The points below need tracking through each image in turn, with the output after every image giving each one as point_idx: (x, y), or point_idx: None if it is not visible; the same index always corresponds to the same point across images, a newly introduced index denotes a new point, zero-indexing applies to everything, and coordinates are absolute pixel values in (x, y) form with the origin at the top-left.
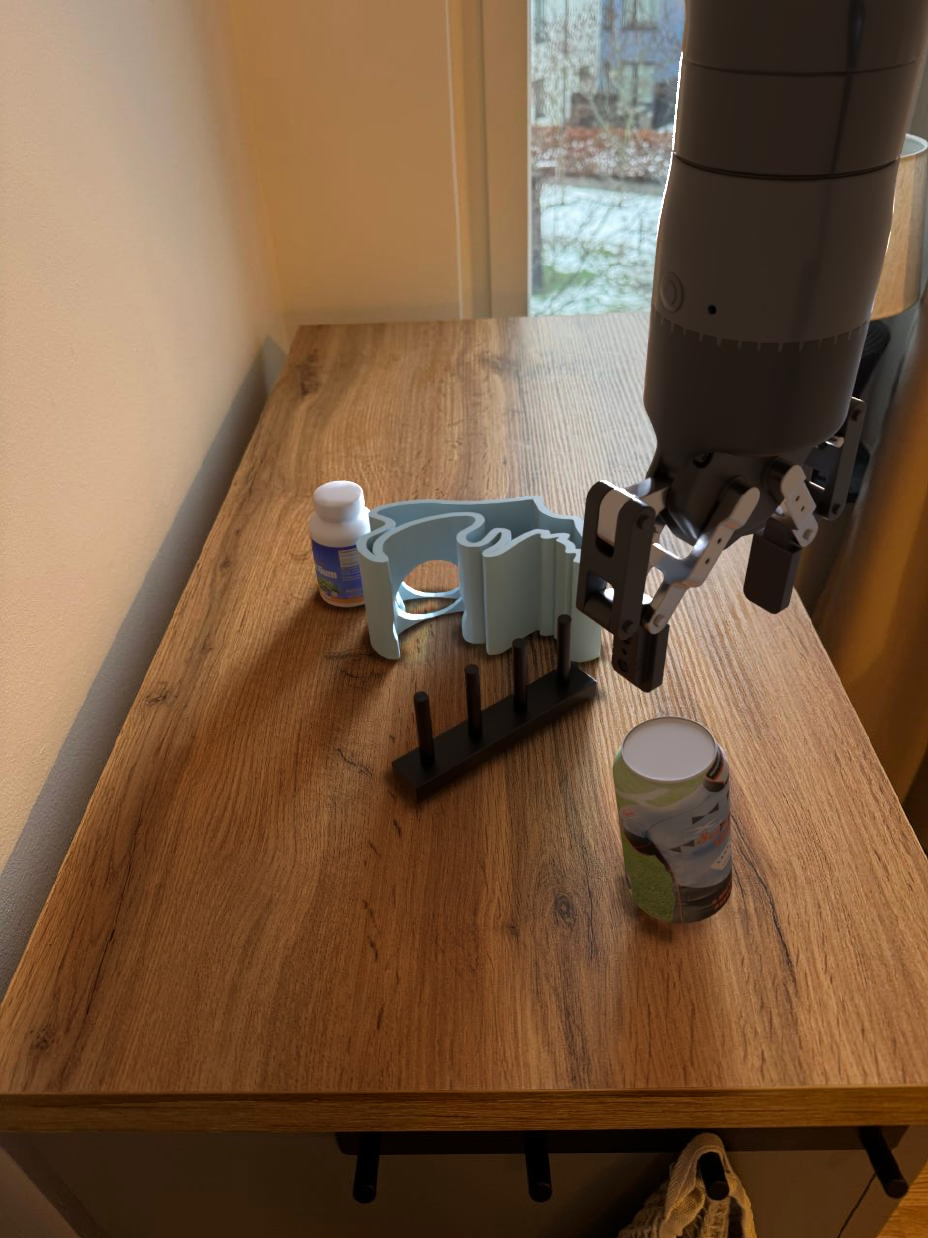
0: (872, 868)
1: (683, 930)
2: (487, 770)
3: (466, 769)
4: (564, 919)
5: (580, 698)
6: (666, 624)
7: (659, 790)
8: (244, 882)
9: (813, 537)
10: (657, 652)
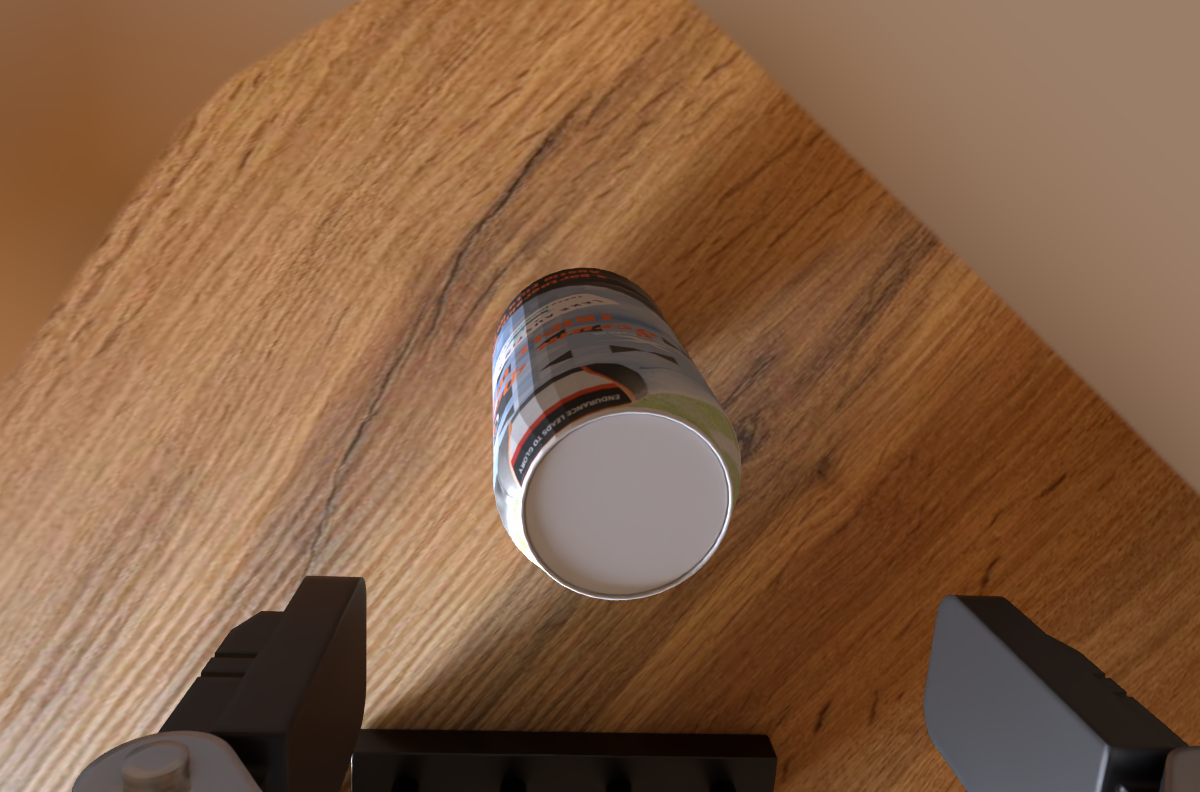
0: (277, 149)
1: None
2: (634, 718)
3: (669, 740)
4: (753, 431)
5: (398, 740)
6: (1113, 758)
7: (721, 444)
8: None
9: (143, 749)
10: (1095, 682)
